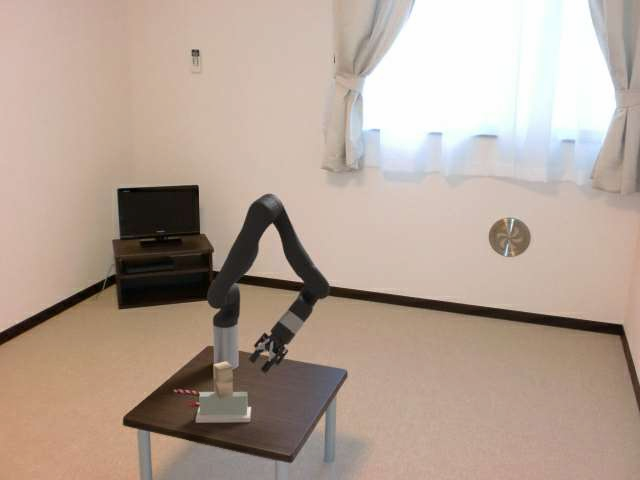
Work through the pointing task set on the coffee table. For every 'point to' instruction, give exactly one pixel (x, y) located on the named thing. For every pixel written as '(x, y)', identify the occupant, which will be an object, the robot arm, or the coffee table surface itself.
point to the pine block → (223, 379)
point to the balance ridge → (223, 408)
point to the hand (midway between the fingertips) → (256, 366)
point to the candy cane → (190, 393)
